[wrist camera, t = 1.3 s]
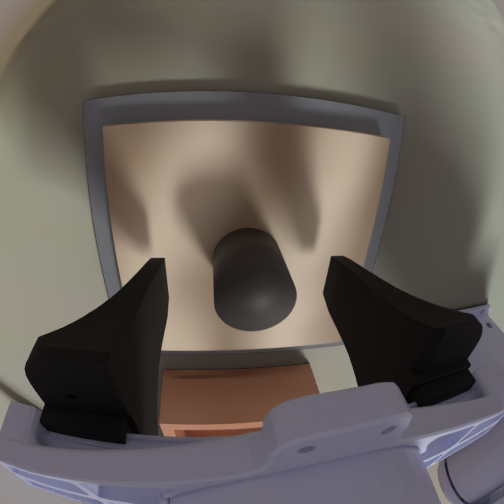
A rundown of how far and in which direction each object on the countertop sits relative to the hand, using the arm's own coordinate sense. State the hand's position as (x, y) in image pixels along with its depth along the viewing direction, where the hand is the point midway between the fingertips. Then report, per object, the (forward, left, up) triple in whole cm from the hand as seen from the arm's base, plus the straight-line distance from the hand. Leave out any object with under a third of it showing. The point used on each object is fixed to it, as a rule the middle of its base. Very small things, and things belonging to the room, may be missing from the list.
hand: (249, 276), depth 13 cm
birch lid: (0, 0, -2) cm, 2 cm away
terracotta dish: (0, +15, -3) cm, 15 cm away
